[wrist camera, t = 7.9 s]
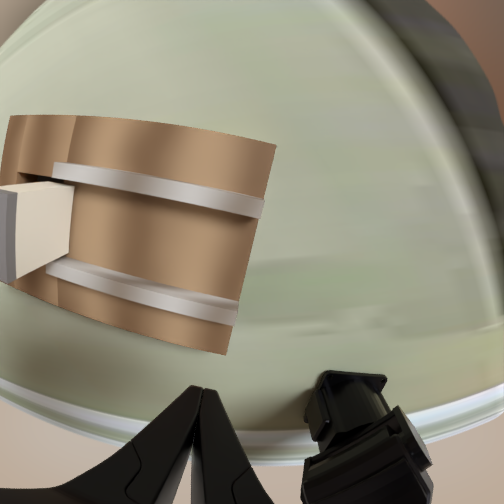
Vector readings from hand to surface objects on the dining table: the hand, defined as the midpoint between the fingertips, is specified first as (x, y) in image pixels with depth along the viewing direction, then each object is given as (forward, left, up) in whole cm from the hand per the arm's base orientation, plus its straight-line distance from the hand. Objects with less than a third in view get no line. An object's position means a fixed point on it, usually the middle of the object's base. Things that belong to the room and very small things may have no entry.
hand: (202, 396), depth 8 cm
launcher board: (+9, -2, -13) cm, 16 cm away
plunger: (+12, -2, -10) cm, 16 cm away
